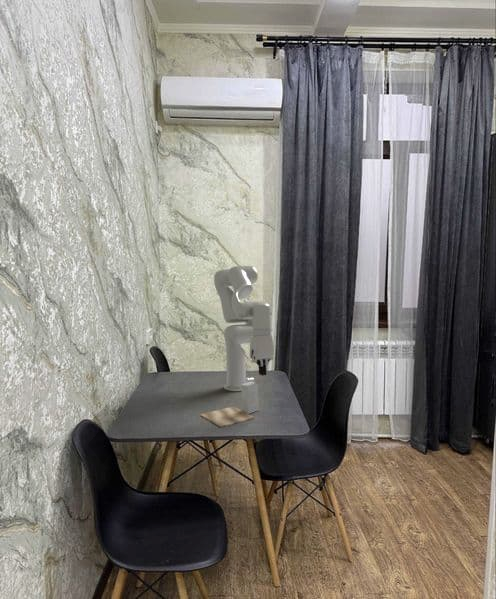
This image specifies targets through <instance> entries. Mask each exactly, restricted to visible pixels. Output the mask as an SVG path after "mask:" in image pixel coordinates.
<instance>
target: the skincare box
mask: <svg viewBox="0 0 496 599" xmlns="http://www.w3.org/2000/svg"><path fill="white" fill-rule="evenodd" d="M240 392H241V411H243V412H245V413H247V414H249V415H251V413H252V414H253V413H255V412H258V411H259V385H258V382H254V381H253V382H248V383H245V384H241V391H240Z"/></svg>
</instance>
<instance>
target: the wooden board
mask: <svg viewBox="0 0 496 599" xmlns="http://www.w3.org/2000/svg"><path fill="white" fill-rule="evenodd" d="M200 417H203V418H204V419H205V420H207V421H209V422H211V423H212V424H213V425H216V426H218V427H219V428H224V426H225V427H229V426H231V425H235V424H238V423H242V422H247V421H249V420H254V419H255V416H253V415H251V414H247V413H245V412H243V411H242V409H239V408H237V407H235V406H230V407H224V408H222V409H217V410H214V411H209V412H205V413H201V414H200ZM228 425H229V426H228Z"/></svg>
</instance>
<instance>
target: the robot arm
mask: <svg viewBox="0 0 496 599" xmlns="http://www.w3.org/2000/svg"><path fill="white" fill-rule="evenodd" d="M258 278H259V275H258V270H257V269H256V268H255V267H254V266H253V265H237V266H232V267H231V268H228V269H220V270H217V271H216V272H215V273H214V275H213V283H214V287H215V290H216V292H217V295H218V297H219V298H220V299H219V300H220V304H221V310H222V314H223V319H224V321H225V323H227V324H233V325H228V326H226V328H224V331H223V337H224V342H225V350H226V351H225V353H226V354H225V355H226V383H225V384H223V388H224V390H226V391H230V392H242V391H241V384H245V383H248V382H254V381H255V378H254V377H247V376H246V375H247V373H246V372H247V366H246V365H247V364H246V362H247V360H246V355H247V354H246V351H245V349H244V348H243V347H242V346H241V345H243V344H249V358H250V359H251V360H250V361H251V363H254V364H257V366H258V374H259V376H262V377H263V376H266V375H267V366H268V364H269V362H271V361H272V360H273V359H274V355H275V353H274V352H275V350H274V340H273V336H272V334H271V333H272V332H273V328H271V305H270V304H269V303H266V302H263V301H244V302H241V301H242V300H243V299H245V298H247V297H249V296H250V295H251V294H252V292H253V288H254V287H253V284H255V283H256V282H257V281H258ZM230 287H232V288H230Z"/></svg>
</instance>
